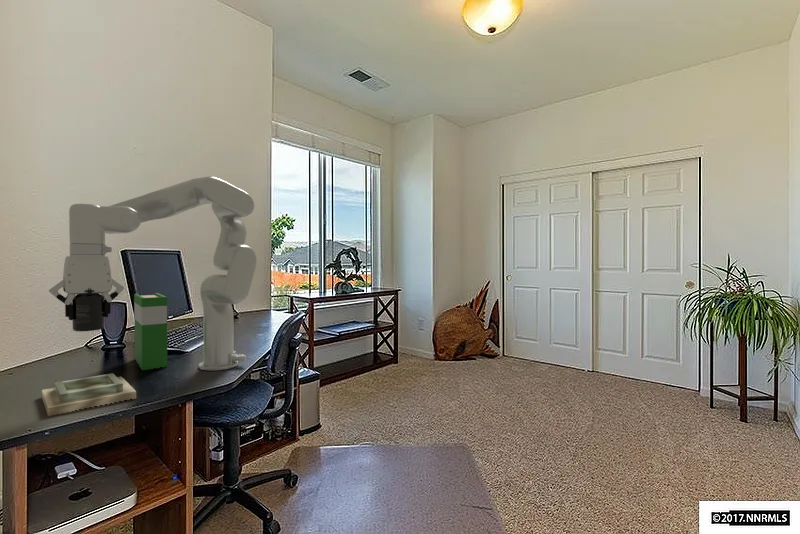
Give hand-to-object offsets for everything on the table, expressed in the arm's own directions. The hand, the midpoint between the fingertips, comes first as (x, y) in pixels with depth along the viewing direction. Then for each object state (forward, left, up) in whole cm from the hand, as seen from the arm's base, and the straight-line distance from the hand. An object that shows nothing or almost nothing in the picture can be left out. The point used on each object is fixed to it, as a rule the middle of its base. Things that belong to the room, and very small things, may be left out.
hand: (88, 317), depth 111 cm
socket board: (0, 0, -22) cm, 22 cm away
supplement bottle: (0, 0, -3) cm, 3 cm away
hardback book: (+1, -36, -22) cm, 42 cm away
